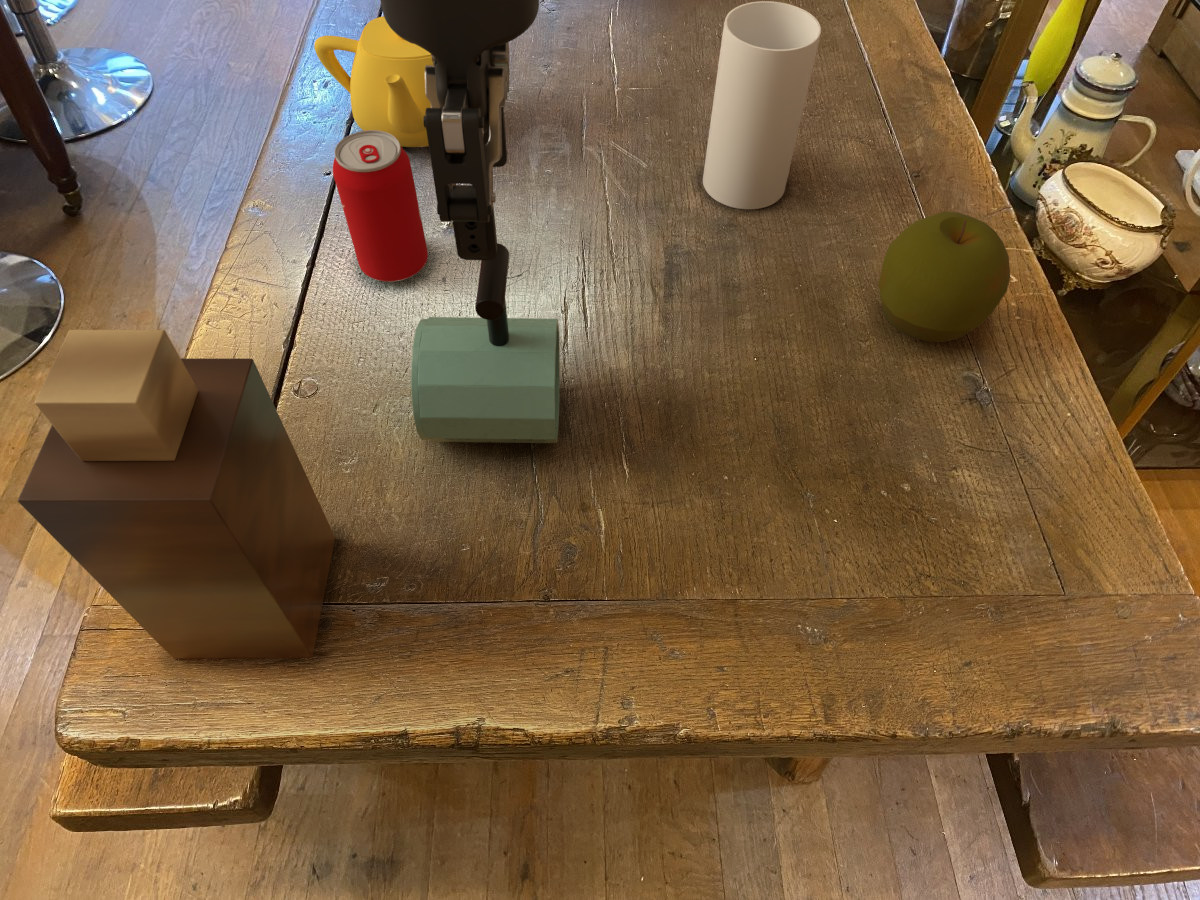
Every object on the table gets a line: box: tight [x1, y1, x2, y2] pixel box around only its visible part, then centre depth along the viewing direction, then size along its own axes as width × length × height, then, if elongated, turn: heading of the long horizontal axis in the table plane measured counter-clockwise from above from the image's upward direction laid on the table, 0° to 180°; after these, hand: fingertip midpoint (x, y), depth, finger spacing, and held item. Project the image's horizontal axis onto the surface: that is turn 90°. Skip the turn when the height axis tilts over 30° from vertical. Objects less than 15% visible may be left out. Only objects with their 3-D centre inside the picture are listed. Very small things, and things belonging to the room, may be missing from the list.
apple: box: [877, 210, 1011, 343], centre depth 70 cm, size 10×10×11 cm
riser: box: [17, 357, 336, 660], centre depth 50 cm, size 9×9×19 cm
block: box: [34, 329, 198, 461], centre depth 41 cm, size 4×4×4 cm
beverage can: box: [332, 130, 429, 283], centre depth 73 cm, size 6×6×12 cm
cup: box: [702, 0, 822, 210], centre depth 79 cm, size 8×8×16 cm
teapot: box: [313, 15, 434, 148], centre depth 85 cm, size 14×14×12 cm
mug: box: [410, 242, 561, 444], centre depth 61 cm, size 15×9×10 cm
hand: (484, 207), depth 51 cm, fingers open, 8 cm apart
